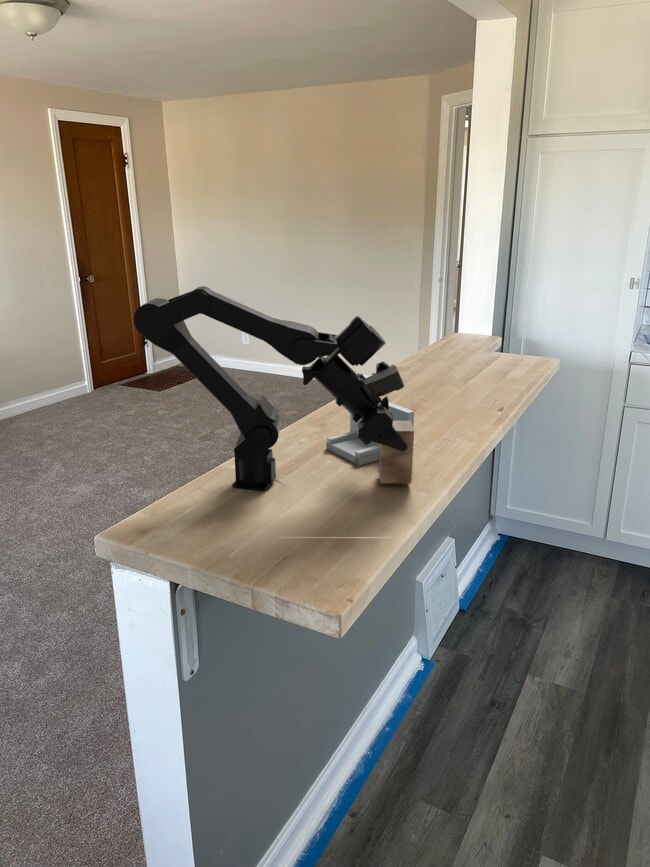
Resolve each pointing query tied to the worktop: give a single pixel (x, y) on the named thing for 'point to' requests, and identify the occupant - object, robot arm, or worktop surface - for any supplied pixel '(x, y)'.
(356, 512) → the worktop surface
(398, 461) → the walnut cabinet block
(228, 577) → the worktop surface
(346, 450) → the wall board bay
